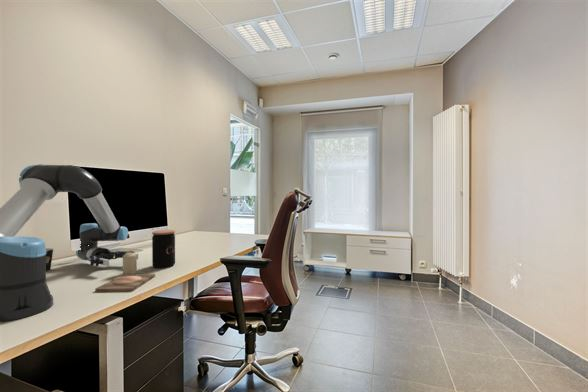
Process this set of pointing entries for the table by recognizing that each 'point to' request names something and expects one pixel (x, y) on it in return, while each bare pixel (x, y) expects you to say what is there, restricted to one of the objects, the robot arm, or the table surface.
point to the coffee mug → (48, 258)
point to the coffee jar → (163, 248)
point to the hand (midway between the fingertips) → (123, 259)
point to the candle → (130, 263)
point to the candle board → (125, 283)
